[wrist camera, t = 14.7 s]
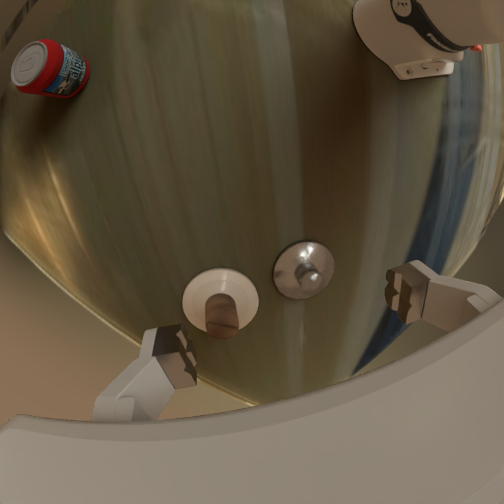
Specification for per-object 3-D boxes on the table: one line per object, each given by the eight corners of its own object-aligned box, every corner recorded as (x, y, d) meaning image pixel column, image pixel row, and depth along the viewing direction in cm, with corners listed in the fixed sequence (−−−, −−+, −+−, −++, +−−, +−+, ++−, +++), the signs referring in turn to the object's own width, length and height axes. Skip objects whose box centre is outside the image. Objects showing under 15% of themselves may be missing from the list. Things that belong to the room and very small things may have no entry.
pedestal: (329, 233, 42) (343, 246, 37) (333, 287, 46) (345, 302, 41) (267, 248, 41) (275, 263, 37) (277, 302, 45) (284, 320, 41)
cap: (240, 298, 42) (245, 321, 37) (229, 321, 44) (232, 345, 39) (211, 289, 41) (212, 312, 36) (201, 313, 43) (200, 337, 37)
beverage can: (89, 95, 28) (45, 85, 17) (51, 102, 27) (2, 98, 16) (95, 52, 25) (56, 28, 14) (57, 60, 24) (13, 45, 13)
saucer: (249, 259, 41) (250, 263, 40) (263, 320, 47) (264, 325, 45) (172, 277, 41) (171, 282, 40) (195, 335, 46) (195, 340, 45)
